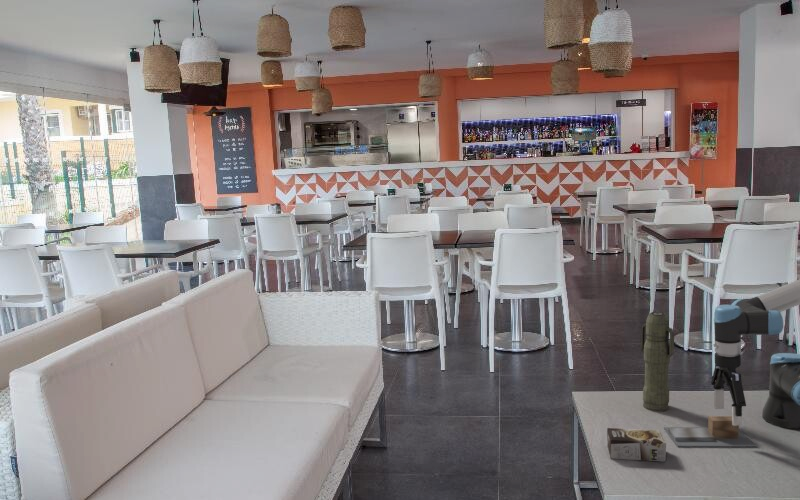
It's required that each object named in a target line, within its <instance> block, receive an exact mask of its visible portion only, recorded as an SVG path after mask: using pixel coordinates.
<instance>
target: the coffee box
mask: <svg viewBox="0 0 800 500" xmlns="http://www.w3.org/2000/svg"><path fill="white" fill-rule="evenodd" d="M606 430H607V431H606V433H607V434H606V436H607V437H606V438H607V441H606V442H607V446H606V447H607V450H608V454H609V458H610V459H613V460H627V461H628V460H629V461H630V460H631V461H645V462H646V461H648V462H666V459H667V457H666V456H667V442H666V439H665V437H664V435H663V433H662V431H661V430H659V429H639V428H636V429H635V428H615V427H613V428H612V427H607V429H606Z"/></svg>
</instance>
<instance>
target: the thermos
mask: <svg viewBox="0 0 800 500" xmlns="http://www.w3.org/2000/svg"><path fill="white" fill-rule="evenodd" d="M645 322H646V323H644V324H642V325H641V326H640V351H641V352H642V354H643V361H644V386H643V389H642V401H643V405H642V406H643V408H644V409H646V410H648V411H652V412H657V413H658V412H661V413H662V412H666V411H668V410H669V403H670V389H669V363H670V361H671V357H672V356H674V355H675V354H674V350H675V349H674V348H675V347H674V346H675V331H674V330H673V329H674V328H672V327H670V321H669V317H668V314H667V313H665V312H661V311H651V312H649V313H648V316H647V318H646V321H645ZM645 335H646V336H645Z"/></svg>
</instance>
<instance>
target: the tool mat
mask: <svg viewBox="0 0 800 500" xmlns="http://www.w3.org/2000/svg"><path fill="white" fill-rule="evenodd" d="M668 428H706V429H707V430H708V426H707V427H706V426H705V427H704V426H699V427H697V426H695V427H694V426H690V427H689V426H688V427H687V426H683V427H682V426H680V427H679V426H678V427H677V426H676V427H675V426H674V427H673V426H672V427H671V426H669V427H668V426H666V427H665V426H664V427H663V430H664V431H665V432H666V433H667V435H668V437H669V438H670V439H671V440H672V442H673V443H674V444H675V446H676V447H677V448H758V445H757V444H756V443H755V442H754V441H753V440H752V439H751V438H750V437H749V436H748V435H747V434H746V433H744V431H743V430H742V429H741V428H739V429H738V439H714V441H675V440H674V438H673V437H672V436H671V434H670V433H669V432H668Z"/></svg>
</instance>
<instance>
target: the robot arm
mask: <svg viewBox="0 0 800 500" xmlns="http://www.w3.org/2000/svg"><path fill="white" fill-rule="evenodd" d="M797 306H800V278H799V279H796V280H794V281H792V282H790V283H787V284H784V285H782V286H780V287H777V288H774V289H772V290H769V291H767V292H765V293H762V294H760V295H757V296H755V297H752V298H749V299H744V298H739V299H736V300H735V301H733V302H732V303H731V304H720V305H717V306H716V307H715V308H714V314H713V315H714V317H713V324H714V343H712V344H713V347H714V352H715V353H714V370H713V373H712V377H711V383H710V384H711V386H713V387H712V388H713V390H714V409H715V410H719V409H720V410H724V409H725V408H724V407H725V405H724V404H725V403H724V402H725V400H724V399H725V398H724V397H725V396H724V395H725V391H724V389H725V387H724V386H725V385H726V386H727V387H728V389H729V393H730V397H731V399H732V404H731V410H732V411H731V412H732V413H731V416H732V425H733V426H736V425H739V426H743V407H746V406H747V402H746V397H745V392H744V387H743V383H742V382H743V381H742V375H741V373H737V370H736V369H737V368H739V367H740V366H741V364H742V361H741V360H742V359H741V358H742V355H741V353H742V338H741V336H760V335H761V336H764V335H768V336H770V335H777V334H778V335H779V334H781V333H782V332H783V330H784V318H783V316H782V312H784V311H786V310H789V309H791V308H794V307H797ZM769 367H770V368H769V369H770V370H769V389H768V390H769V391H768V397H767V399H766V402H765V403H764V406H763V408H762V410H761V412H762V414H761V415H762V419H763V420H764V421H766V422H767V423H770V424H771V425H774V426H778V427H781V428H786V429H792V430H793V429H794V430H800V353H791V352H790V353H789V352H782V353H781V352H780V353H774V354H772V355H771V357H770V362H769Z"/></svg>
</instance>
